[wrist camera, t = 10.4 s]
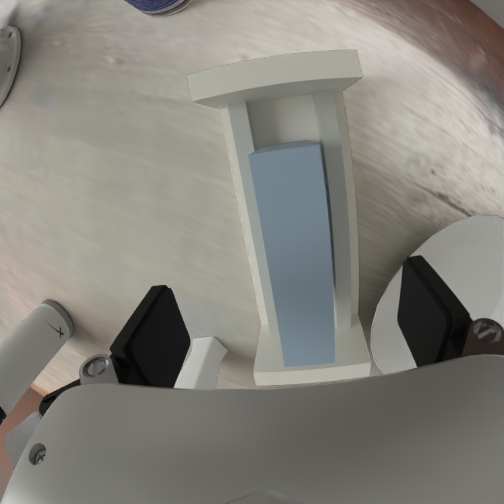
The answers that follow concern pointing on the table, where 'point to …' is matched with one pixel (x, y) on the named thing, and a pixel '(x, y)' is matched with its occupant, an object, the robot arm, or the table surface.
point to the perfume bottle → (202, 364)
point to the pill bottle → (160, 6)
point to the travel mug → (30, 351)
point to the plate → (454, 275)
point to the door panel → (297, 248)
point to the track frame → (335, 178)
